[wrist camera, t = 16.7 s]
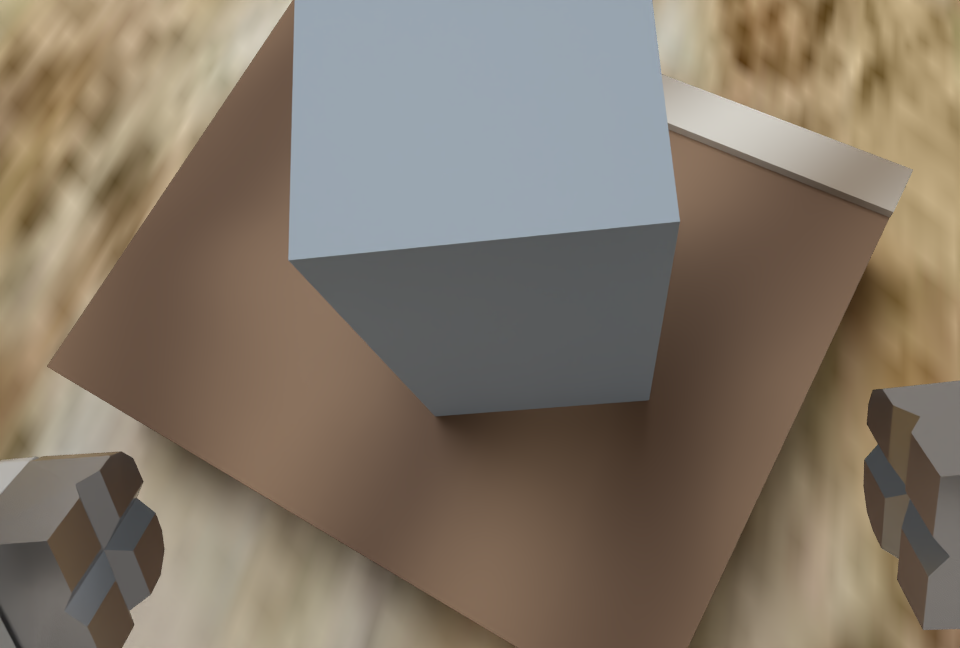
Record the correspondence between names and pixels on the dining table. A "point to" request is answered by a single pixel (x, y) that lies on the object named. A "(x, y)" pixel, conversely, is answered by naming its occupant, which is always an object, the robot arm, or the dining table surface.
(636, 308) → the blue-grey rectangular block
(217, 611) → the dining table surface
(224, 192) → the dock
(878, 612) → the dining table surface
